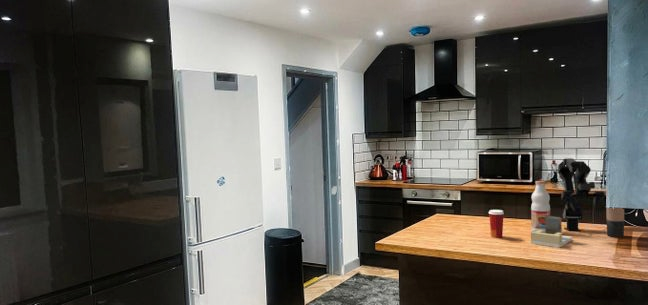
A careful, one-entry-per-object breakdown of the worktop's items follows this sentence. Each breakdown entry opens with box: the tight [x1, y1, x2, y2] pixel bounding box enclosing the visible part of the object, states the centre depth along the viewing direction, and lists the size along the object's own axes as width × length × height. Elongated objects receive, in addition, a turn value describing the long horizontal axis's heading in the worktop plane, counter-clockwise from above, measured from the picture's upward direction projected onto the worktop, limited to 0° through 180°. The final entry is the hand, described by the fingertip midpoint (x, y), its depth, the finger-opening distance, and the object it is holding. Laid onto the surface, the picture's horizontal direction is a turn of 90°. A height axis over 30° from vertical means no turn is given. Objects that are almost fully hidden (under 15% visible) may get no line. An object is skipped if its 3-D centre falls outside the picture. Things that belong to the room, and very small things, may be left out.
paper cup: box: [488, 209, 505, 239], centre depth 233 cm, size 8×8×14 cm
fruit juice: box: [530, 180, 551, 233], centre depth 241 cm, size 9×9×28 cm
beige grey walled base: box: [530, 230, 573, 248], centre depth 220 cm, size 20×13×6 cm, turn 134°
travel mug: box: [606, 207, 625, 239], centre depth 225 cm, size 8×8×20 cm
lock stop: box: [545, 215, 563, 234], centre depth 222 cm, size 5×6×10 cm
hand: (585, 211), depth 219 cm, fingers open, 9 cm apart
